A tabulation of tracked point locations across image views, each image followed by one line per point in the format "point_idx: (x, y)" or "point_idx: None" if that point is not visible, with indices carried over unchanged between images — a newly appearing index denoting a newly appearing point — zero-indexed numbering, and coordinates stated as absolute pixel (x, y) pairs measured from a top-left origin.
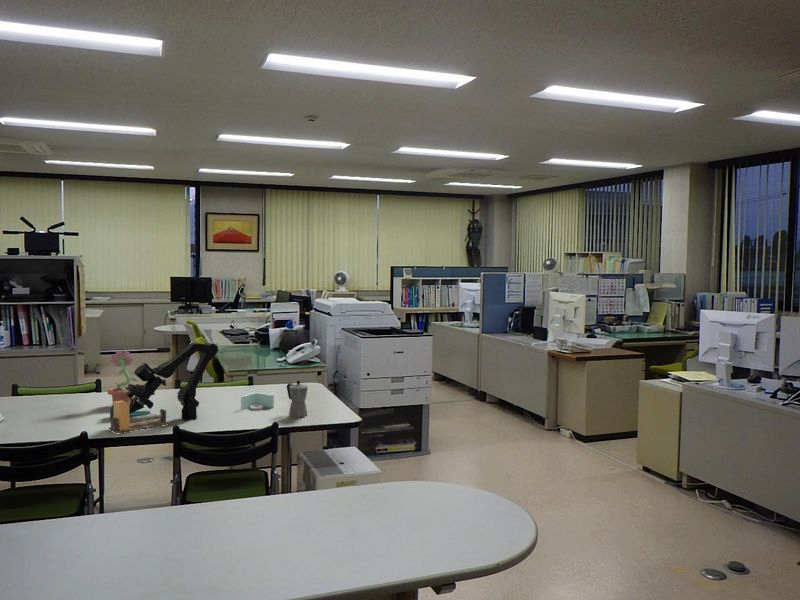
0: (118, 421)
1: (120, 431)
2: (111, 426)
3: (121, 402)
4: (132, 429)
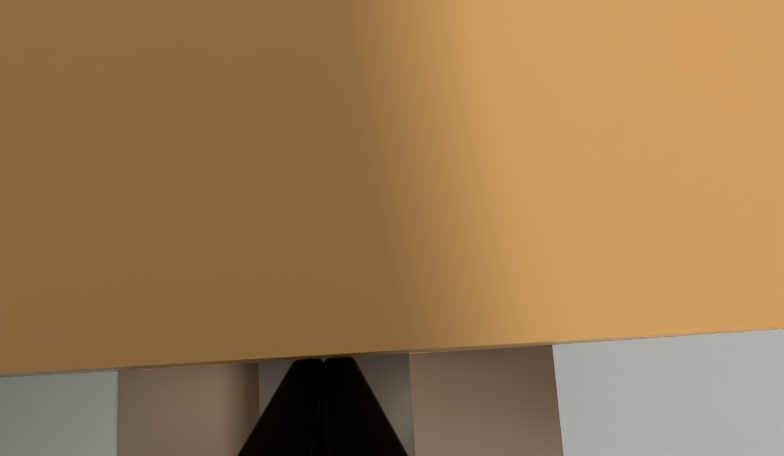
0: None
1: None
2: None
3: (315, 56)
4: (132, 415)
